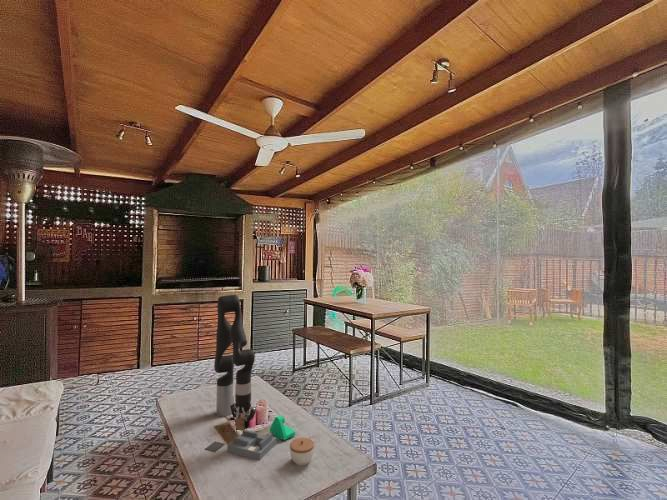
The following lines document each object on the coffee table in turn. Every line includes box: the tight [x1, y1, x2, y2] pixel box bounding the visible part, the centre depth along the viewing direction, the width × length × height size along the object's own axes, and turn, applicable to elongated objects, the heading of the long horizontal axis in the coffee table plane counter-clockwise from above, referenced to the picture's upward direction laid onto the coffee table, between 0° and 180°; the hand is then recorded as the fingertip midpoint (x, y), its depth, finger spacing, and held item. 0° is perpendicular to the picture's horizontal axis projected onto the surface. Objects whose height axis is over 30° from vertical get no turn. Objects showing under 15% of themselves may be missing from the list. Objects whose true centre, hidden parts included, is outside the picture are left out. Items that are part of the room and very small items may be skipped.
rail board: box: [226, 429, 277, 460], centre depth 159 cm, size 14×18×6 cm
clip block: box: [235, 414, 246, 432], centre depth 161 cm, size 5×4×4 cm
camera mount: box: [269, 414, 296, 441], centre depth 171 cm, size 12×8×10 cm, turn 47°
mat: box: [204, 441, 226, 453], centre depth 159 cm, size 7×6×1 cm
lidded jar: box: [289, 437, 315, 467], centre depth 148 cm, size 11×11×9 cm
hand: (242, 427), depth 161 cm, fingers closed on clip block, 4 cm apart
